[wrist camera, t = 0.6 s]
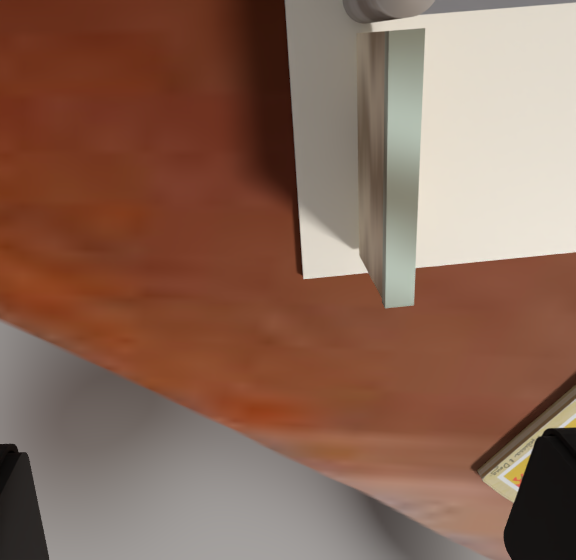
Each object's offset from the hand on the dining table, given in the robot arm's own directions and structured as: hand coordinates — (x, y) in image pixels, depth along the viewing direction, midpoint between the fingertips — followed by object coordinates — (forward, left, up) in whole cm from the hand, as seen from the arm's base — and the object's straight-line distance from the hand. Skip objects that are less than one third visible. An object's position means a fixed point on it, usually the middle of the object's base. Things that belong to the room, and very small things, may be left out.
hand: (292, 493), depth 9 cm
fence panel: (-6, -2, -21) cm, 22 cm away
